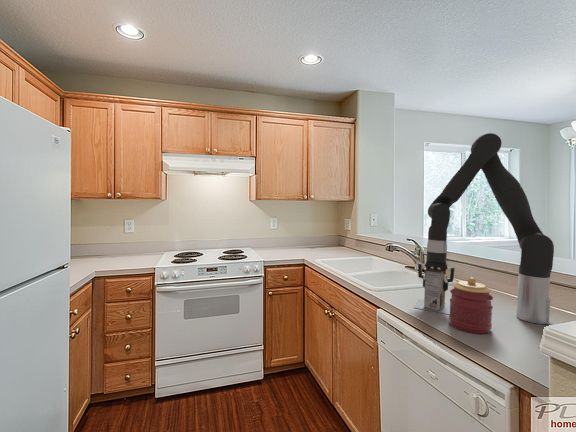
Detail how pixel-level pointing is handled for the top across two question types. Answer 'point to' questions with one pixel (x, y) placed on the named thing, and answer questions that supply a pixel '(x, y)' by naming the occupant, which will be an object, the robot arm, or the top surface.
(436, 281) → the coffee box
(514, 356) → the top surface
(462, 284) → the canister
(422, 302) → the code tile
